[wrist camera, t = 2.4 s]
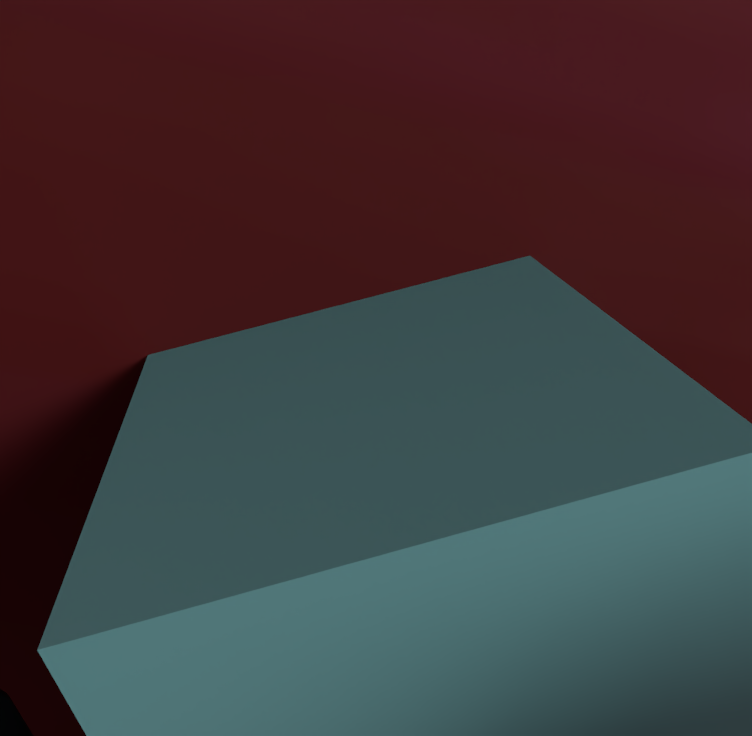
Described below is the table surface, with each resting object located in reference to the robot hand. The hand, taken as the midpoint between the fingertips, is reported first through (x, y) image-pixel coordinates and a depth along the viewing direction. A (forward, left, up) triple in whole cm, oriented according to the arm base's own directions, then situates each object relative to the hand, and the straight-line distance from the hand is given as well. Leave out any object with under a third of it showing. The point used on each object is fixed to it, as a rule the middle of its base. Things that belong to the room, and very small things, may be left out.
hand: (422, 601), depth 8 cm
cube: (0, 0, -3) cm, 3 cm away
